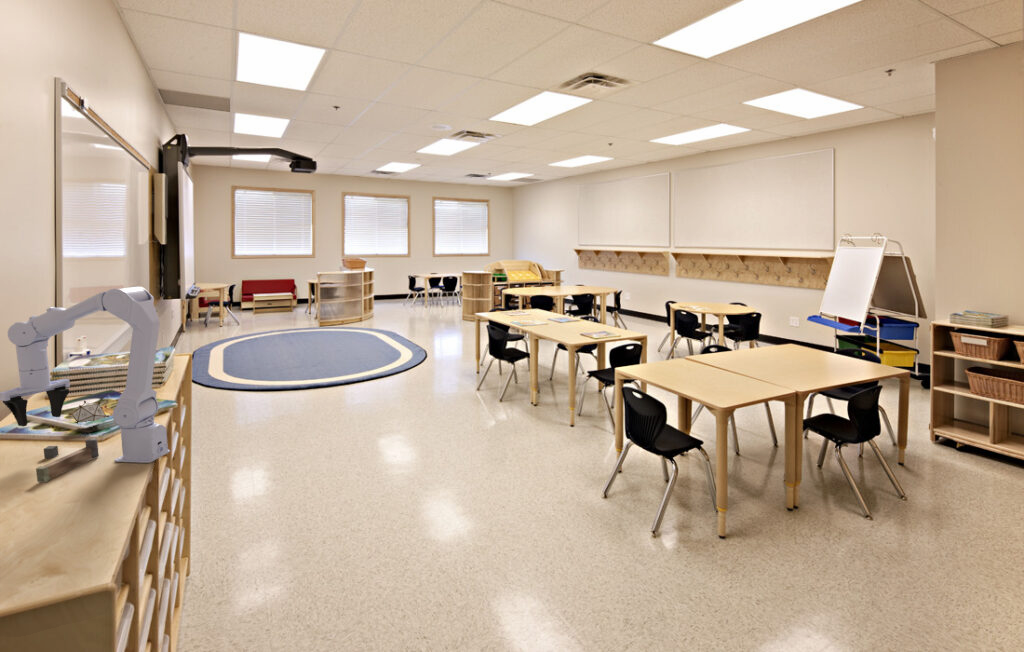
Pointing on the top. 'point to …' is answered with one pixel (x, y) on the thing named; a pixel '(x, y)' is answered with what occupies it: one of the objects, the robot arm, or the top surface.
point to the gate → (68, 461)
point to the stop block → (50, 451)
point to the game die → (88, 412)
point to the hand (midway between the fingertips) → (40, 421)
